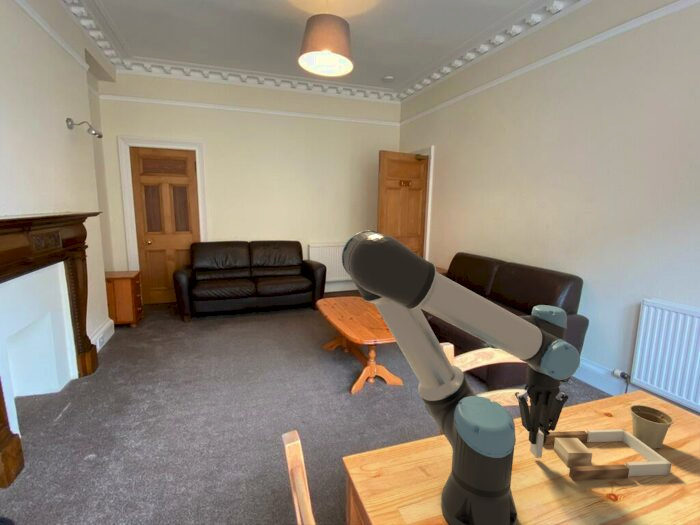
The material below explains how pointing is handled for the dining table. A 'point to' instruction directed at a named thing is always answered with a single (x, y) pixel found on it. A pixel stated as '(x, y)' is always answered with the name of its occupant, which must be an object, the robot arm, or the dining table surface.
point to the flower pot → (650, 425)
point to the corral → (655, 461)
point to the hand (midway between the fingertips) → (535, 454)
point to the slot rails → (589, 471)
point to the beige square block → (572, 452)
